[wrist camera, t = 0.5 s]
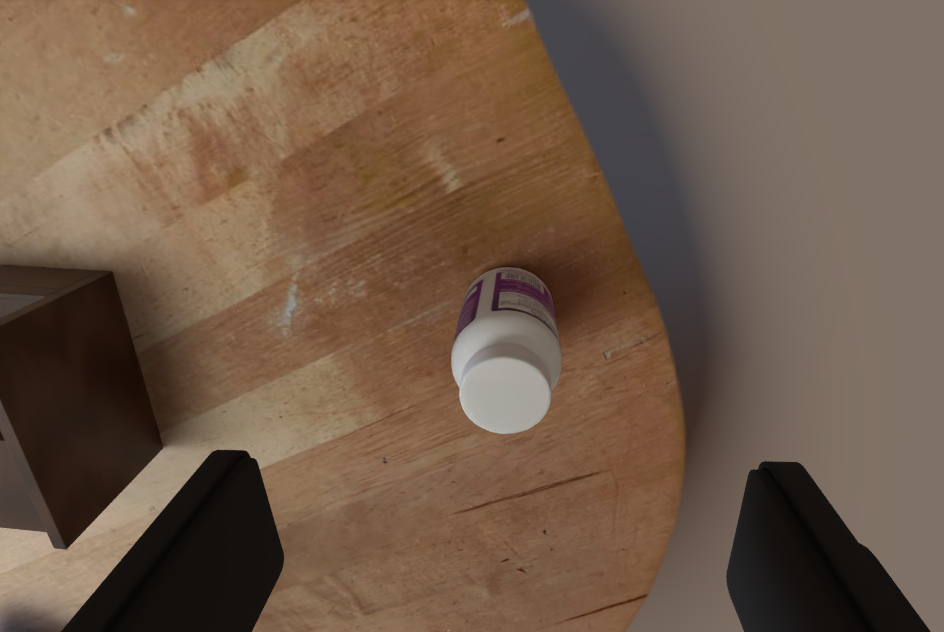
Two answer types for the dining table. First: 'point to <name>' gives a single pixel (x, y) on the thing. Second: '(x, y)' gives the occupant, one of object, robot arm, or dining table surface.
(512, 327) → the pill bottle
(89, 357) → the brown open box
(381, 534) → the dining table surface
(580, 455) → the dining table surface
